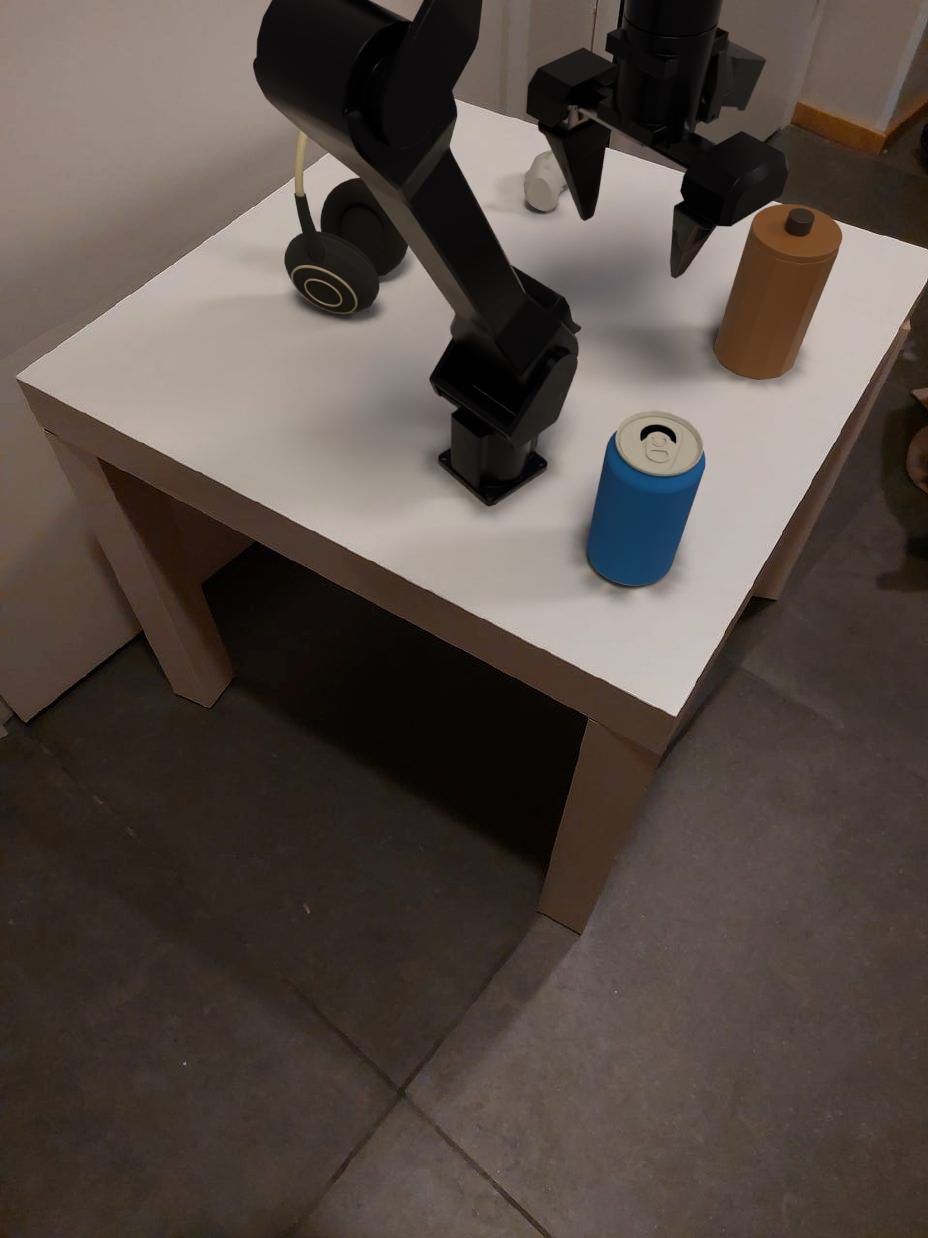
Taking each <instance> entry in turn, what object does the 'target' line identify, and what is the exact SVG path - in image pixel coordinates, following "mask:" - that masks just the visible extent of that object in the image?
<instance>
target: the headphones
mask: <svg viewBox="0 0 928 1238" xmlns="http://www.w3.org/2000/svg"><path fill="white" fill-rule="evenodd" d="M308 138H309V137H308V136H307V135H306V134H304V133H303V132H302V131H301V130H300V129H299V131H298V136H297V143H296V149H295V150H296V151H295V160H294V194H293V196H294V201H295V202H294V203H295V206H296V212H297V217H298V221H299V225H300V229H301V233H299V234H297V235H296V236H294V237H293V238H292V239H291V240H290V241H289V243H288V245H287V246H286V250H285V253H284V258H283V259H284V260H283V261H284V267H285V270H286V273H287V276H288V277H289V279H290V281H291V283H292V284H293V287H294V288H295V290H296V291H297V292H298V294H300V295H301V296H302V297H303V298H304V299H305V300H307V301H308V302H309V303H311V304H312V305H314V306H315V307H317V308H319V309H322V310H324V311H327V312H329V313H334V314H339V315H345V314H354V313H359V312H361V311H364V310H367V309H369V308H370V307H371V306H372V305H373V304H374V303H375V301H376V299H377V297H378V295H379V293H380V287H381V285H380V278H381V277H384V276H386V275H388V274H389V273H391V272H392V271H394V270H395V269H396V268H397V267H398V266H399V265H400V264H401V262H402V261H403V260H404V258H405V256H406V255H407V251H408V248H409V246H408V244H407V243H406V241H405V240H404V238H403V237H402V235H401V234H400V233H399V231H398V230H397V228H396V227H395V225H394V224H393V223H392V221H391V220H390V218H389V217H388V215H387V214H386V212H385V211H384V210H383V208H382V207H381V205H380V204H379V202H378V201H377V199H376V198H375V197H374V195H373V194H372V192H371V191H370V189H369V188H368V187H367V185H366V184H365V182H364V181H363V180H362V179H361V178H360V177H353V178H350V179H346V180H344V181H342V182H340V183H339V184H337V185H336V186H335V187H333V188H332V190H331V191H330V192H329V193H328V194H327V196H326V198H325V200H324V201H323V204H322V208H321V211H320V219H319V220H320V221H319V223H320V231H317V229H316V226H315V224H314V221H313V217H312V215H311V210H310V205H309V202H308V198H307V193H306V192H305V188H304V170H305V169H304V168H305V155H306V148H307V142H308Z"/></svg>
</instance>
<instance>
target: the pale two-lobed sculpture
mask: <svg viewBox="0 0 928 1238" xmlns="http://www.w3.org/2000/svg"><path fill="white" fill-rule="evenodd" d="M524 181H525V185H524V196H525V199H526V201H527V202H528V203H529V205H531V206H532V207H533V208H535V209H536V210H539V211H542V212H550V211H553V210H554V208H556V206H557V204H558V203H559V199H560V193H561V192H563V190H564V189H563V187H564V186H566V185H567V183H566V180H565V178H564V176H563V173H562V171H561V169H560V167H559V164H558V162H557V160H556V158H555V156H554V154H553V152H552V150H551V149H548V150H545V151H543V152H541V153H539V154H537V155H536V156H535V157H534V159H533V161H532V163H531V165H530V168H529V169H527V171H526V172H525V173H524Z"/></svg>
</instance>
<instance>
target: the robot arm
mask: <svg viewBox="0 0 928 1238" xmlns="http://www.w3.org/2000/svg"><path fill="white" fill-rule="evenodd" d="M723 3H724V0H624V6H623V14H622V21H621V26H620V27H618V28H615V29H613V30H611V31H608V32H606V39H605V47H604V51H605V52H606V53H609V54H610V55H612V56H614V57H616V58H617V59H616V63H614V62H612V61H611V60H609V59H606V58H604V57H603V56H601V55H599V54H597V53H596V52H593V51H591V50H589V49H587V48H585V47H581V48H579V49H576V50H574V51H572V52H570V53H568V54H565V55H563V56H560V57H559V58H557V59H555V60H554V59H553V61H550V62H548V63H545V64H544V65H541V66H539V67H537V69H535V71H534V72H533V74H532V76H531V77H530V79H529V81H528V82H527V92H526V109H525V113H526V115H529V116H530V117H532V118H534V119H535V120H537V130H538V132H539V133H540V134H543V135H544V137H545V139H546V141H547V143H548V145H549V148H550V150H552V152H553V154H554V156H555V158H556V160H557V162H558V164H559V167H560V169H561V171H562V173H563V176H564V178H565V180H566V183H567V184H566V186H567V188H568V190H569V193H570V196H571V198H572V200H573V204H574V206H575V209H576V210H577V214H578V216H579V217H580V219H581V220H582V221H583V222H586V221H588V220H590V219H592V218H593V217H594V215H595V213H596V209H597V204H598V202H599V196H600V190H601V189H600V188H601V182H602V176H603V171H604V170H603V169H604V162H605V156H606V149H607V143H608V140H609V137H610V135H611V134H612V132H614V133H616V134H618V135H620V136H621V137H623V138H625V139H626V140H628V141H630V142H632V143H633V144H636V145H637V146H638V147H641V148H648V149H650V150H651V151H654V152H655V153H657V154H659V155H661V156H662V157H664V158H665V159H667V160H670V161H671V162H672V163H675V164H677V165H678V166H680V167H682V168H683V169H685V170H686V171H685V172H684V174H683V176H682V181H681V186H680V190H679V192H680V195H681V197H682V199H683V200H681V201H679V202H678V203H676V204H674V205H673V210H672V211H673V213H672V224H671V225H672V227H671V241H670V254H669V255H670V256H669V269H670V277H671V278H673V279H674V280H675V279H678V278H679V277H681V276H682V275H684V274H685V273H686V271H688V268H689V267H690V266H691V265H692V263H693V261H694V260H695V258H696V257H697V256H698V254H699V252H700V251H701V250H702V248H703V247H704V245H705V244H706V242H707V241H708V239H710V236H711V235H712V234H713V232H714V231H715V229H717V227H725V228H726V227H727V228H731V227H732V226H734V225H736V224H738V223H739V222H741V221H742V220H744V219H746V218H747V217H749V216H751V215H753V214H754V213H756V212H757V211H760V210H762V208H765V206H767V205H769V204H771V203H772V202H774V201H776V200H777V199H779V198H780V197H782V196H783V192H784V188H785V186H786V182H787V180H788V176H789V173H790V166H789V164H790V163H789V160H788V158H787V156H786V155H785V153H784V152H783V151H781V150H780V149H777V148H775V147H774V146H771V145H770V144H768V143H766V142H764V141H763V140H760V139H758V138H756V137H755V136H753V135H751V134H748V133H747V132H745V131H743V130H740V131H739V132H737V133H735V134H733V135H732V136H730V137H728V138H726V139H724V140H722V141H720V142H718V143H715V142H713V141H711V140H709V139H708V138H706V137H704V136H702V135H701V134H699V133H696V132H695V131H696V129H697V125H698V124H699V123H701V122H702V123H703V124H705V125H709V124H710V123H713V122H714V121H716V120H718V119H719V118H720V114H721V110H722V107H723V108H736V110H737V111H740V112H744V111H746V109H747V107H748V104H749V102H750V100H751V97H752V95H753V92H754V91H755V88H756V86H757V83H758V81H759V79H760V77H761V74H762V72H763V69H764V68H765V65H766V63H767V59H766V57H763V56H762V55H759V54H758V53H756V52H754V51H751V50H749V49H748V48H745V47H743V46H741V45H738V44H736V43H734V42H732V41H730V37H729V34H730V32H729V31H727V30H726V29H723V28H721V27H718V26H719V21H720V17H721V14H722V13H721V12H722V8H723ZM482 9H483V0H422V2H421V4H420V6H419V8H418V10H417V12H416V14H415V16H414V18H413V19H412V20H411V19H409V18H407V17H405V16H403V15H400V14H399V13H396V12H394V11H392V10H390V9H388V8H386V7H384V6H382V5H380V4H378V3H376V2H375V1H372V0H271V1H270V3H269V5H268V6H267V8H266V11H264V14H263V16H262V19H261V23H260V26H259V30H258V34H257V38H256V55H255V58H253V62H252V69H253V73H254V77H255V81H256V83H257V84H258V87H259V89H260V91H261V92H262V94H263V97H264V98H265V99H266V100H267V101H268V102H269V103H270V104H271V105H272V106H273V107H274V108H275V109H276V110H277V111H278V112H280V113H281V114H282V115H283V116H284V117H285V118H286V119H288V121H289V122H291V123H292V124H293V125H294V126H295V127H296V128H297V129H298V130H299V131H300V130H301V131H302V132H303V133H304V134H306V135H307V136H308V137H307V138H309V139H310V140H311V141H313V143H315V144H317V145H318V146H319V147H320V148H322V149H323V150H325V152H327V153H328V154H330V155H331V156H332V157H334V159H336V160H337V161H338V162H340V163H341V164H342V165H343V166H345V167H346V168H347V169H349V170H350V171H351V172H353V173H354V174H355V175H356V176H357V177H358V178H361V179H362V180H363V181H364V182H365V184H366V185H367V187H368V188H369V189H370V191H371V192H372V194H373V195H374V197H375V198H376V199H377V201H378V202H379V204H380V205H381V207H382V208H383V210H384V211H385V212H386V214H387V215H388V217H389V218H390V220H391V221H392V223H393V224H394V225H395V227H396V228H397V230H398V231H399V233H400V234H401V235H402V237H403V238H404V240H405V241H406V243H407V244H408V248H409V249H410V250H411V251H412V253H413V254H414V256H415V257H416V259H417V260H418V261H419V263H420V264H421V266H422V267H423V269H424V270H425V272H426V273H427V274H428V276H429V277H430V279H431V280H432V282H433V283H434V284H435V286H436V287H437V289H438V290H439V292H440V293H441V295H442V296H443V297H444V299H445V301H446V303H448V304H449V306H450V307H451V309H452V310H453V312H454V316H453V318H452V321H451V323H450V325H449V331H450V334H451V338H450V340H449V342H448V344H447V345H446V348H445V349H444V351H443V352H442V355H441V356H440V357H439V360H438V362H437V364H436V366H434V369H433V370H432V372H431V373H430V376H429V378H428V380H429V381H428V382H429V383H430V386H431V388H432V390H433V392H434V394H435V395H437V396H438V397H440V398H443V399H444V400H446V401H447V402H449V403H450V404H451V405H453V406H454V407H456V408H457V409H455V410H454V411H452V412H451V413H450V447H449V448H448V449H445V450H444V451H443V452H441V453H439V454H438V456H437V463H438V464H439V465H440V466H441V467H442V468H444V469H445V470H446V471H447V472H448V473H449V474H450V475H452V476H453V477H454V478H455V479H456V480H458V482H460V483H461V484H462V485H464V487H466V489H468V490H469V491H470V492H471V493H472V494H474V495H475V496H476V497H477V498H478V499H479V500H481V501H482V502H483V503H484V504H486V505H488V506H494V505H495V504H497V503H498V502H500V501H502V500H503V499H505V498H507V496H509V495H511V494H512V493H513V492H515V491H516V490H518V489H520V488H521V487H523V486H524V485H525V484H528V483H529V482H530V481H531V480H533V479H534V478H536V477H538V476H539V475H541V474H542V473H544V472H545V471H547V469H548V466H549V465H548V463H549V462H548V461H547V459H545V458H544V457H543V456H542V455H540V454H539V453H538V452H537V451H536V449H537V448H538V443H539V435H540V434H541V433H543V432H544V431H545V430H547V429H548V428H550V427H551V426H552V425H554V424H555V423H556V422H558V420H559V418H560V415H561V412H562V410H563V407H564V404H565V401H566V399H567V396H568V393H569V392H570V389H571V386H572V384H573V380H574V377H575V375H576V373H577V369H578V365H579V361H578V360H579V359H578V356H579V353H580V345H579V341H578V340H579V339H578V337H577V336H576V334H578V333H580V332H581V330H582V328H583V327H582V325H580V324H578V323H576V322H575V321H574V320H573V316H572V311H571V306H570V304H569V302H568V300H567V299H566V297H565V296H563V295H561V294H560V293H559V292H557V291H555V290H554V289H552V288H550V287H549V286H547V285H546V284H544V283H542V282H540V281H539V280H537V279H536V278H534V277H532V276H531V275H529V274H527V273H526V272H524V271H523V270H520V269H519V268H518V267H516V266H514V265H513V264H512V263H511V262H510V259H509V257H508V255H507V254H506V252H505V250H504V248H503V246H502V245H501V243H500V240H499V239H498V237H497V235H496V233H495V231H494V230H493V227H492V225H491V224H490V222H489V219H488V218H487V216H486V214H485V212H484V211H483V209H482V206H481V205H480V203H479V201H478V199H477V197H476V195H475V193H474V192H473V190H472V188H471V186H470V184H469V183H468V182H469V181H467V179H466V177H465V174H464V173H463V171H462V169H461V167H460V165H459V163H458V161H457V160H456V158H455V155H454V154H453V152H452V148H451V142H452V138H453V135H454V130H455V127H456V123H457V121H458V120H457V119H458V107H457V103H456V99H455V97H454V92H453V90H454V88H455V87H456V85H457V83H458V81H459V79H460V77H461V76H462V74H463V72H464V70H465V69H466V67H467V64H468V63H469V61H470V59H471V58H472V56H473V54H474V52H475V50H476V48H477V45H478V42H479V40H480V39H479V38H480V28H481V19H482Z"/></svg>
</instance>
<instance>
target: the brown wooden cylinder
mask: <svg viewBox="0 0 928 1238" xmlns="http://www.w3.org/2000/svg"><path fill="white" fill-rule="evenodd" d="M842 242H843V231H842V229H841V227H840V225H839V224H838V222H837V221H835V220H834V218H832V217H831V216H829V215H828V214H826V213H824V212H822V211H821V210H818V209H816V208H813V207H810V206H806V205H802V204H794V203H793V204H792V203H782V204H774V205H770V206H767V207H764V208H763V209H760V210H759V211H758V212H757V213H756V214H755V215H754V216H753V218H752V221H751V222H750V226H749V230H748V233H747V236H746V239H745V243H744V246H743V248H742V249H743V250H742V253H741V257H740V259H739V263H738V266H737V268H736V269H737V270H736V273H735V276H734V279H733V282H732V286H731V289H730V292H729V296H728V298H727V302H726V306H725V308H724V312H723V315H722V319H721V322H720V326H719V329H718V332H717V335H716V338H715V343H714V346H713V352H714V353H715V355H716V357H717V359H718V362H719V363H720V364H721V365H722V366H724V367H725V368H727V369H729V371H731V372H733V373H734V374H736V375H738V376H742V377H747V378H751V379H755V380H765V379H772V378H779V377H781V376H782V375H783V374H785V373H786V372H788V371H789V370H790V369H792V368H793V367H794V364H795V361H796V359H797V357H798V354H799V352H800V350H801V347H802V344H803V343H804V339H805V337H806V334H807V332H808V329H809V327H810V325H811V322H812V319H813V317H814V315H815V311H816V309H817V307H818V304H819V302H820V300H821V297H822V295H823V292H824V291H825V288H826V285H827V282H828V279H829V277H830V275H831V272H832V271H833V267H834V265H835V262H836V260H837V257H838V254H839V252H840V247H841V244H842Z"/></svg>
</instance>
